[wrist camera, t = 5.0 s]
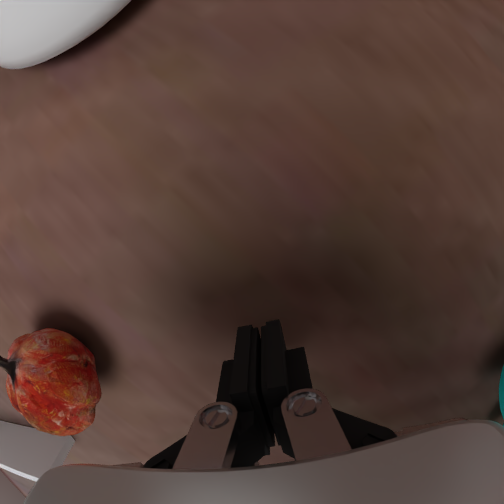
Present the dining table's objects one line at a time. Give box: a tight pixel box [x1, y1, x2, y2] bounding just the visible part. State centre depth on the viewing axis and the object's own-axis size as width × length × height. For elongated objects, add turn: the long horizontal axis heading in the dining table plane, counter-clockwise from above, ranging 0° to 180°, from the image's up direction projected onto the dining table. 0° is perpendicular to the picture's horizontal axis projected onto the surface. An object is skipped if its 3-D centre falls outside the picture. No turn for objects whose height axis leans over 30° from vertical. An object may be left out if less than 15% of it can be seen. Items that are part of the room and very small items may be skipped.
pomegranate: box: [0, 328, 101, 436], centre depth 12 cm, size 6×6×8 cm
